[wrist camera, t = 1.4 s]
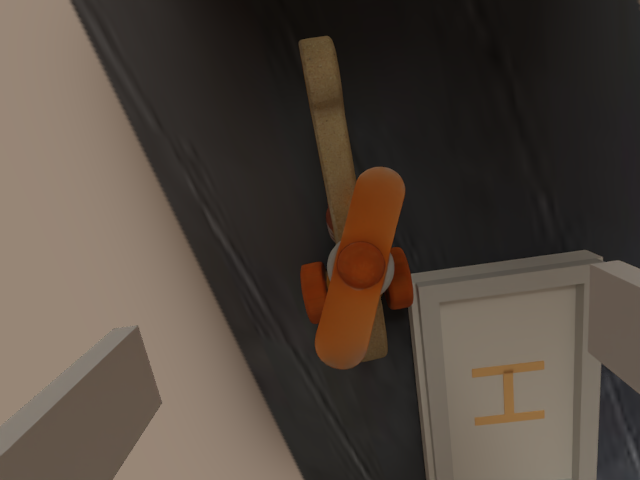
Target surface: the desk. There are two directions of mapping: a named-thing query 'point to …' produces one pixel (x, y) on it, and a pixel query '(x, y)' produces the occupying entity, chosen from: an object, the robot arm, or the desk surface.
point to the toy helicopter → (350, 230)
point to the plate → (507, 369)
